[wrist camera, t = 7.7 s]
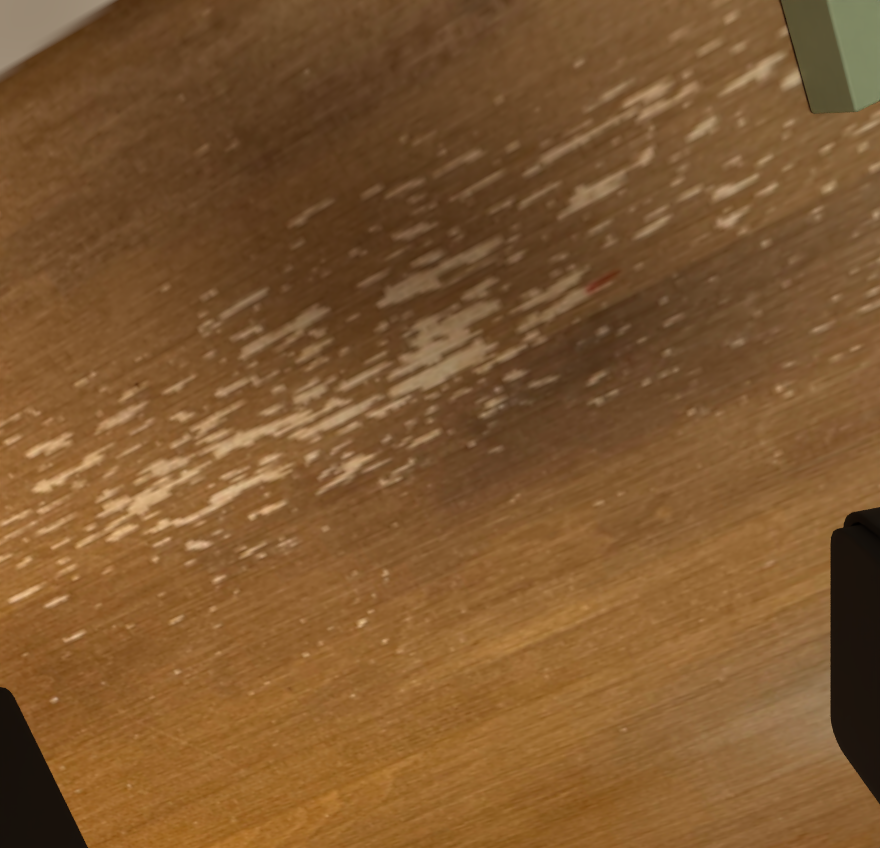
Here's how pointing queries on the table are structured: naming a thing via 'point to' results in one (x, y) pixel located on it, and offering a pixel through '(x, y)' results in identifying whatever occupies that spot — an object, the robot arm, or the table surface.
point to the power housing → (837, 51)
